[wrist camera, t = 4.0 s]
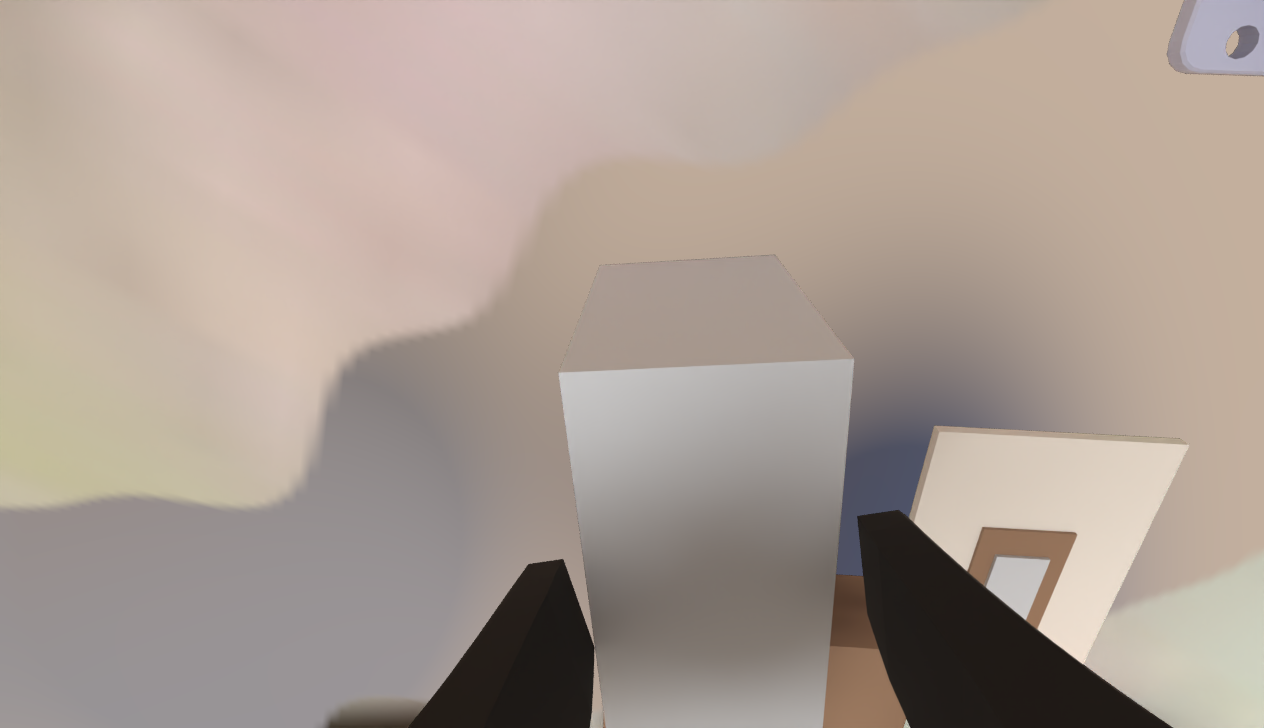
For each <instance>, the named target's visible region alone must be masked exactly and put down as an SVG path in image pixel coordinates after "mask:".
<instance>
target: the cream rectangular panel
mask: <svg viewBox="0 0 1264 728" xmlns="http://www.w3.org/2000/svg"><path fill="white" fill-rule="evenodd" d="M1188 447H1189V444H1187V443H1186V442H1184V441H1183V440H1181V439H1179V438H1161V437H1141V436H1121V435H1104V434H1084V433H1066V432H1046V431H1028V430H1009V429H990V428H971V427H970V428H969V427H951V426H934V428H933V432H932V436H931V439H930V443H929V447H928V451H927V454H926V458H925V461H924V465H923V468H922V472H921V475H920V479H919V483H918V486H917V490H916V494H915V497H914V501H913V505H912V508H911V512H910V515H909V519H910V520H912V521H913V522H914V523H915V524H916V525H917V526H918V527H919V528H920V529H921V530H922V531H923V532H924V533H925V534H926V535H927V536H929V537H930V538H931V539H932V540H933V541H934V542H935V543H936V544H937V545H938V546H939V547H941V548H942V549H943V550H944V551H945V552H946V553H947V554H948V555H949V556H950V557H952V558H953V559H954V560H955V561H956V562H957V563H958V564H960V565H961V566H962V567H963V568H964V569H965V570H966V571H967V572H969V573H970V574H971V575H972V576H973V577H974V578H976V579H977V580H978V581H979V582H980V583H981V584H983V585H984V586H985V587H986V588H987V589H988V590H990V591H991V592H992V593H993V594H995V595H996V596H997V597H998V598H999V599H1001V600H1002V601H1003V602H1004V603H1005V604H1007V605H1008V606H1009V607H1010V608H1012V609H1013V610H1014V611H1015V612H1016V613H1018V614H1019V615H1020V616H1021V617H1022V618H1024V619H1025V620H1026V621H1027V622H1029V623H1030V624H1031V625H1032V626H1034V627H1035V628H1036V629H1038V630H1039V631H1040V632H1041V633H1043V634H1044V635H1045V636H1046V637H1048V638H1049V639H1050V640H1052V641H1053V642H1054V643H1055V644H1057V645H1058V646H1059V647H1061V648H1062V649H1063V650H1065V651H1066V652H1067V653H1069V654H1070V655H1071V656H1073V657H1074V658H1075V659H1077V660H1078V661H1079V662H1081V663H1082V664H1083V663H1084V661H1085V659H1086V657H1087V655H1088V653H1089V651H1090V649H1091V647H1092V645H1093V643H1094V641H1095V639H1096V637H1097V635H1098V632H1099V630H1100V628H1101V626H1102V624H1103V622H1104V620H1105V618H1106V616H1107V614H1108V612H1109V610H1110V608H1111V606H1112V604H1113V602H1114V599H1115V597H1116V595H1117V593H1118V591H1119V589H1120V587H1121V585H1122V583H1123V581H1124V579H1125V577H1126V575H1127V573H1128V571H1129V568H1130V567H1131V564H1132V562H1133V560H1134V558H1135V556H1136V554H1137V552H1138V550H1139V548H1140V546H1141V544H1142V542H1143V540H1144V538H1145V535H1146V534H1147V532H1148V529H1149V527H1150V525H1151V523H1152V521H1153V519H1154V517H1155V515H1156V513H1157V511H1158V509H1159V507H1160V505H1161V503H1162V500H1163V499H1164V496H1165V494H1166V492H1167V490H1168V488H1169V486H1170V484H1171V482H1172V480H1173V478H1174V476H1175V474H1176V472H1177V470H1178V468H1179V466H1180V464H1181V461H1182V459H1183V457H1184V455H1185V453H1186V451H1187V449H1188Z"/></svg>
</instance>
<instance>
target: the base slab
mask: <svg viewBox="0 0 1264 728" xmlns="http://www.w3.org/2000/svg"><path fill="white" fill-rule="evenodd" d="M905 721H906V717H905V714H904V712H903V710H902V708H901V705H900V703H899V701H898V699H897V696H896V694H895V692H894V690H893V687H892V685H891V683H890V681H889V678H888V675H887V672H886V669H885V666H884V663H883V660H882V657H881V654H880V651H879V648H878V645H877V642H876V639H875V636H874V633H873V630H872V627H871V624H870V621H869V618H868V615H867V608H866V598H865V588H864V578H863V576H852V575H836V579H835V591H834V602H833V614H832V626H831V637H830V649H829V660H828V672H827V684H826V695H825V707H824V718H823V728H903V727H904V724H905ZM603 728H606V726H605V718H604V722H603Z"/></svg>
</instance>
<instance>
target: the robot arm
mask: <svg viewBox="0 0 1264 728" xmlns="http://www.w3.org/2000/svg"><path fill="white" fill-rule="evenodd" d="M1234 31H1237V32H1238V35H1239V43H1238V46H1237V47H1236V49H1235V50H1234V52H1233V53H1232V54H1231V55H1230V56H1228V54H1227V52H1226V43H1227V41H1228V39H1229V37H1230V36H1231V34H1232V33H1233V32H1234ZM1167 56H1168V60H1169V64H1170V65H1171V66H1172V67H1173V68H1174V69H1175V70H1176V71H1178V72H1182V73H1185V74H1213V75H1245V76H1264V0H1184V2H1183V4H1182V7H1181V10H1180V13H1179V16H1178V19H1177V21H1176V24H1175V27H1174V30H1173V33H1172V35H1171V38H1170V41H1169V45H1168V51H1167ZM857 518H858V527H859V537H860V548H861V558H862V567H863V578H864V588H865V598H866V608H867V615H868V618H869V621H870V624H871V627H872V630H873V633H874V636H875V639H876V642H877V645H878V648H879V651H880V654H881V657H882V660H883V663H884V666H885V669H886V672H887V675H888V678H889V681H890V683H891V685H892V687H893V690H894V692H895V694H896V696H897V699H898V701H899V703H900V705H901V708H902V710H903V712H904V714H905V717H906V719H907V721H908V723H909V726H910V728H1173V727H1171V726H1170V725H1168V724H1167V723H1165V722H1164V721H1162V720H1161V719H1159V718H1158V717H1156V716H1155V715H1153V714H1152V713H1150V712H1149V711H1147V710H1146V709H1145V708H1143V707H1142V706H1140V705H1139V704H1137V703H1136V702H1135V701H1133V700H1132V699H1130V698H1129V697H1127V696H1126V695H1125V694H1123V693H1122V692H1120V691H1119V690H1118V689H1116V688H1115V687H1113V686H1112V685H1111V684H1109V683H1108V682H1106V681H1105V680H1104V679H1102V678H1101V677H1100V676H1098V675H1097V674H1095V673H1094V672H1093V671H1091V670H1090V669H1089V668H1087V667H1086V666H1085V665H1083V664H1082V663H1081V662H1079V661H1078V660H1077V659H1075V658H1074V657H1073V656H1071V655H1070V654H1069V653H1067V652H1066V651H1065V650H1063V649H1062V648H1061V647H1059V646H1058V645H1057V644H1055V643H1054V642H1053V641H1052V640H1050V639H1049V638H1048V637H1046V636H1045V635H1044V634H1043V633H1041V632H1040V631H1039V630H1038V629H1036V628H1035V627H1034V626H1032V625H1031V624H1030V623H1029V622H1027V621H1026V620H1025V619H1024V618H1022V617H1021V616H1020V615H1019V614H1018V613H1016V612H1015V611H1014V610H1013V609H1012V608H1010V607H1009V606H1008V605H1007V604H1005V603H1004V602H1003V601H1002V600H1001V599H999V598H998V597H997V596H996V595H995V594H993V593H992V592H991V591H990V590H988V589H987V588H986V587H985V586H984V585H983V584H981V583H980V582H979V581H978V580H977V579H976V578H974V577H973V576H972V575H971V574H970V573H969V572H967V571H966V570H965V569H964V568H963V567H962V566H961V565H960V564H958V563H957V562H956V561H955V560H954V559H953V558H952V557H950V556H949V555H948V554H947V553H946V552H945V551H944V550H943V549H942V548H941V547H939V546H938V545H937V544H936V543H935V542H934V541H933V540H932V539H931V538H930V537H929V536H927V535H926V534H925V533H924V532H923V531H922V530H921V529H920V528H919V527H918V526H917V525H916V524H915V523H914V522H913V521H912V520H910V519H909V518H908V517H907V516H906V515H905V514H903V513H902V512H900V511H899V510H895V511H888V512H882V513H875V514H868V515H862V516H857ZM593 677H594V645H593V642H592V639H591V636H590V633H589V630H588V628H587V625H586V622H585V619H584V616H583V614H582V611H581V608H580V606H579V602H578V600H577V597H576V594H575V591H574V588H573V585H572V582H571V580H570V577H569V574H568V571H567V568H566V566H565V563H564V560H563V559H560V560H554V561H547V562H540V563H533V564H528V566H527V567H526V568H525V570H524V571H523V573H522V574H521V575H520V577H519V578H518V579H517V581H516V582H515V584H514V585H513V586H512V588H511V589H510V591H509V592H508V593H507V595H506V596H505V598H504V599H503V601H502V602H501V604H500V605H499V606H498V608H497V609H496V611H495V612H494V614H493V615H492V616H491V618H490V619H489V621H488V622H487V624H486V625H485V627H484V628H483V629H482V631H481V632H480V634H479V635H478V636H477V638H476V639H475V640H474V642H473V643H472V645H471V646H470V647H469V649H468V650H467V651H466V653H465V654H464V656H463V657H462V658H461V660H460V661H459V663H458V664H457V665H456V667H455V668H454V669H453V671H452V672H451V673H450V675H449V676H448V678H447V679H446V680H445V682H444V683H443V684H442V686H441V687H440V688H439V689H438V691H437V692H436V693H435V694H434V696H433V697H432V698H431V699H430V701H429V702H428V703H427V705H426V706H425V707H424V708H423V710H422V711H421V712H420V713H419V715H418V716H417V717H416V718H415V720H414V721H413V722H412V724H411V725H410V726H409V727H408V728H590V721H591V714H592V698H593Z"/></svg>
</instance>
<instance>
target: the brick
mask: <svg viewBox="0 0 1264 728" xmlns="http://www.w3.org/2000/svg"><path fill="white" fill-rule="evenodd" d="M853 369H854V358H853V356H852V355H851V354H850V352H849V351H848V350H847V348H846V347H845V346H844V345H843V343H842V342H841V341H840V339H839V338H838V337H837V335H836V334H835V333H834V331H833V330H832V329H831V328H830V326H829V325H828V324H827V322H826V321H825V320H824V318H823V317H822V316H821V314H820V313H819V312H818V310H817V309H816V308H815V306H814V305H813V304H812V303H811V301H810V300H809V299H808V298H807V296H806V295H805V293H804V292H803V291H802V290H801V288H800V287H799V286H798V284H797V283H796V282H795V280H794V279H793V278H792V277H791V275H790V274H789V273H788V271H787V270H786V269H785V267H784V266H783V265H782V263H781V262H780V261H779V259H778V258H777V257H776V255H761V256H743V257H727V258H710V259H693V260H676V261H660V262H643V263H627V264H610V265H600V266H599V268H598V271H597V274H596V276H595V279H594V281H593V284H592V287H591V289H590V292H589V294H588V297H587V300H586V302H585V305H584V307H583V310H582V313H581V315H580V318H579V321H578V323H577V326H576V328H575V331H574V333H573V336H572V339H571V341H570V344H569V347H568V349H567V352H566V354H565V357H564V359H563V362H562V364H561V367H560V370H559V372H558V374H559V381H560V389H561V397H562V404H563V411H564V419H565V427H566V434H567V442H568V449H569V456H570V464H571V470H572V479H573V486H574V494H575V501H576V508H577V516H578V524H579V531H580V539H581V546H582V553H583V561H584V569H585V576H586V584H587V591H588V599H589V605H590V613H591V620H592V628H593V636H594V643H595V651H596V658H597V666H598V673H599V681H600V688H601V695H602V703H603V711H604V718H605V726H606V728H823V718H824V707H825V695H826V684H827V672H828V660H829V649H830V637H831V626H832V614H833V602H834V591H835V579H836V568H837V556H838V544H839V533H840V521H841V510H842V498H843V485H844V475H845V463H846V451H847V440H848V428H849V417H850V405H851V393H852V382H853Z"/></svg>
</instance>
